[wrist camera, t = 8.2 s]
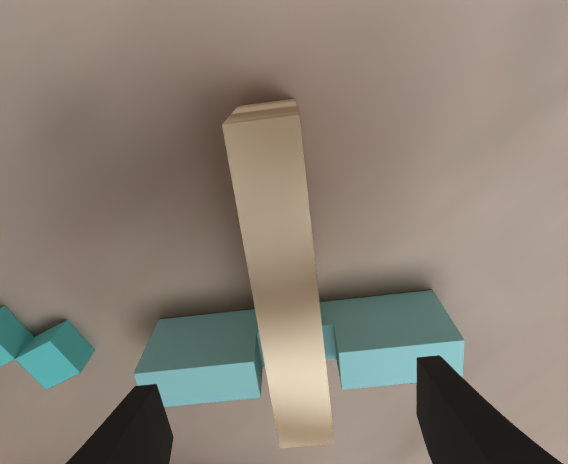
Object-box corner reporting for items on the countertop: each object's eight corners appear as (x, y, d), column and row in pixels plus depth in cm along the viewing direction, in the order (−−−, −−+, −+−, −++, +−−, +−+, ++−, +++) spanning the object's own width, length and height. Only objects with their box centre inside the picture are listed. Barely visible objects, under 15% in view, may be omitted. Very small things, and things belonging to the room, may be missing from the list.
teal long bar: (431, 322, 22) (462, 378, 18) (167, 350, 22) (145, 408, 19) (432, 289, 21) (464, 340, 17) (158, 319, 22) (133, 373, 18)
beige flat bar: (323, 364, 23) (334, 443, 18) (280, 369, 23) (279, 448, 18) (294, 98, 17) (299, 114, 13) (237, 106, 17) (221, 124, 13)
